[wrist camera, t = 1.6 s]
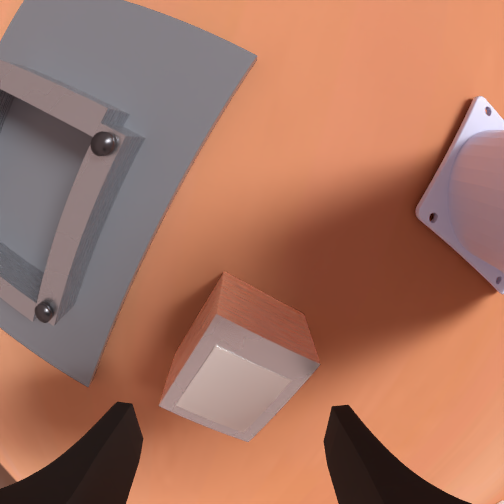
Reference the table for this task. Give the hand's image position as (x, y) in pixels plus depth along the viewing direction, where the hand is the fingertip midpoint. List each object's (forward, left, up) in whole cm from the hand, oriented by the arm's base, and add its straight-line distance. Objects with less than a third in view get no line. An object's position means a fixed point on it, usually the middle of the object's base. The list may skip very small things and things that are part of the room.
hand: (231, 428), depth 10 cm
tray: (+13, -2, -6) cm, 15 cm away
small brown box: (0, 0, -7) cm, 7 cm away
